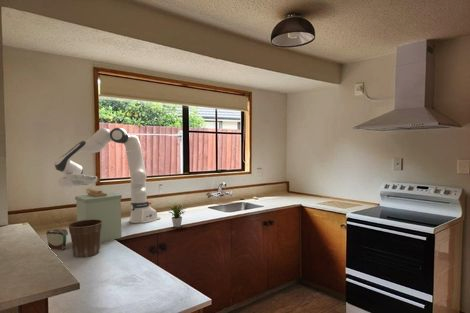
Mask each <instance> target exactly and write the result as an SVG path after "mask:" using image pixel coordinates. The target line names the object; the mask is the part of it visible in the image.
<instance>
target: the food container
mask: <svg viewBox="0 0 470 313" xmlns="http://www.w3.org/2000/svg"><path fill="white" fill-rule="evenodd" d="M68 232H69V231H68V229H66V228H53V229H49V230H46V231H45V235H46V238H47V247H48V246H49V247H50V248H51V249H52V250H53V251H64V250H66V247H67V237H68V234H69V233H68ZM51 249H50V250H51Z"/></svg>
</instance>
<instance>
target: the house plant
mask: <svg viewBox="0 0 470 313" xmlns="http://www.w3.org/2000/svg"><path fill="white" fill-rule="evenodd" d="M186 206H188V205H186ZM170 209H171V211H169V213H170V214H172V215H171V221H172V226H173V228H180V227H182V220H183V217H182V215H184V214H185V209H187V207H185V206H183V204H181V203H179V205H177V202H175V204H173V206H170Z"/></svg>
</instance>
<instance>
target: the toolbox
mask: <svg viewBox="0 0 470 313" xmlns="http://www.w3.org/2000/svg"><path fill="white" fill-rule="evenodd" d="M122 197H123V196H122V194H117V193H114V192H104V191H102V194H94V193H90V192H89V193H88V194H84V195H75V196H74V200H75V202H76V221H82V220H91V219H96V220H102V225H101V231H100V243H104V242H108V241H109V242H110V241H113V240H116V239H122V206H121V205H122V203H121V202H122V200H121V199H122Z"/></svg>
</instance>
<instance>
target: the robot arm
mask: <svg viewBox="0 0 470 313" xmlns="http://www.w3.org/2000/svg"><path fill="white" fill-rule="evenodd" d="M110 142H114V143H117V144H123V145H124V147H125V153H126V159H127V162H128V163H127V164H128V169H129V175H130V217H129V222H130V223H133V224H145V223H149V222H154V221H158V220H160V219H161V216H159V215H158V212H157V210H156V209H154V208H153V207H151V206H150V205H152V201H148V200H147V199H148V197H147V196H148V194H147V191H148V190H147V178H148V177H147V171H146V166H145V161H144V156H143V150H142V146H141V142H140V139H139V137H138V136H137V135H134V134H131V135H129V134H128V131H127V130H125V129H124V128H122V127H114V128H113V129H111V130H110V129H108V128H106V127H101V128H99V129H98V130H96V132H94V134H92V136H91V137H90V138H89V139H87V140H82V141H80V142H78V143H77V144H76V145H74V146H73V147H71V148H70V149H69V150H68V151H67V152H66V153H65V154H63V155H62V156H60V157H59V158H58V159H57V160H56V161H55V163H54V168H55V170H56V171H58V172H61V173H64V175H62V176H61V177H58V180H57V182H58V185H59V186H60V187H61V188H67V189H68V188H72V187H78V186H80V187H81V186H88V185H89V184H94V183H97V182H98V176H96V175H86V174H83V173H84V169H83V165H81V164H80V163H77V162H74V161H73V160H72V159H73V158H74V157H76V155H78V154H79V153H81V152H87V153H93V154H95V153H99V152H101V151H102V150H103V149H104V148H105V147H106V146H107V145H108V143H110Z"/></svg>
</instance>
